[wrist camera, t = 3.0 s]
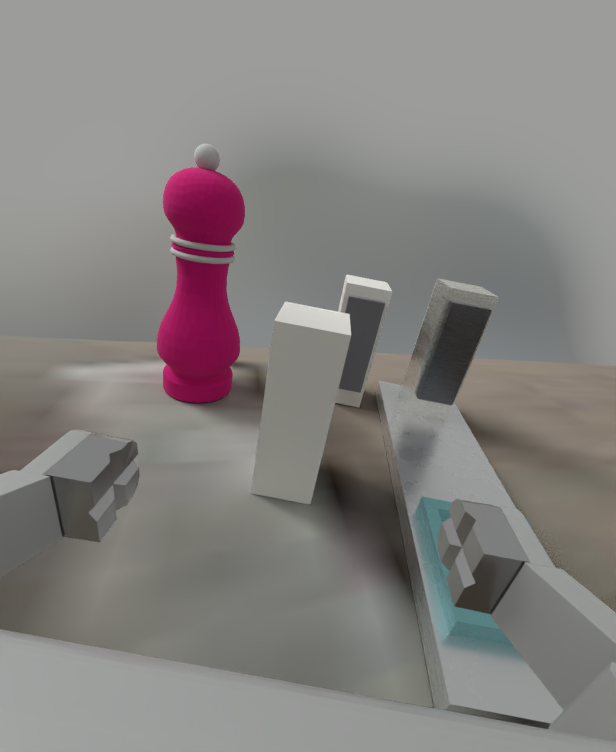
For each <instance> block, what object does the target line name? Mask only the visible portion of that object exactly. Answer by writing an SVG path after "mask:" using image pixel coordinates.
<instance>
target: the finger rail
mask: <svg viewBox="0 0 616 752" xmlns="http://www.w3.org/2000/svg"><path fill="white" fill-rule="evenodd" d="M498 298H499V297H498V296H496V295H494V294H493V293H491V292H489V291H487V290H486V289H484V288H482V287H479V286H473V285H469V284H463V283H458V282H453V281H448V280H443V279H437V281H436V284H435V287H434V290H433V293H432V296H431V299H430V302H429V305H428V308H427V311H426V314H425V317H424V320H423V323H422V326H421V329H420V332H419V335H418V338H417V341H416V344H415V347H414V350H413V353H412V356H411V359H410V362H409V365H408V368H407V371H406V374H405V377H404V380H403V383H402V385H398V384H393V383H388V382H383V381H378V385H377V388H376V391H375V394H376V399H377V405H378V410H379V415H380V421H381V426H382V431H383V437H384V442H385V447H386V453H387V458H388V463H389V469H390V474H391V479H392V485H393V490H394V495H395V501H396V506H397V511H398V517H399V522H400V527H401V532H402V538H403V543H404V548H405V554H406V559H407V564H408V570H409V575H410V580H411V586H412V591H413V596H414V602H415V607H416V612H417V618H418V623H419V628H420V634H421V639H422V644H423V650H424V655H425V660H426V665H427V671H428V676H429V681H430V687H431V692H432V697H433V703H434V708H435V709H440V710H445V711H451V712H456V713H462V714H467V715H473V716H478V717H484V718H489V719H494V720H500V721H505V722H511V723H516V724H522V725H527V726H533V727H538V728H544V729H548V728H549V726H550V724H551V723H552V722H553V721H554V720H555V719H556V718H557V717H558V716H559V715H560V714H561V713H562V712H563V711H564V710H563V709H562V708H561V706H560V705H559V704H558V703H557V701H556V700H555V699H554V697H553V696H552V695H551V694H550V692H549V691H548V690H547V688H546V687H545V686H544V685H543V683H542V682H541V681H540V679H539V678H538V677H537V676H536V674H535V673H534V672H533V670H532V669H531V668H530V666H529V665H528V664H527V663H526V661H525V660H524V659H523V657H522V656H521V655H520V654H519V652H518V651H517V650H516V648H515V647H514V646H513V645H512V643H511V642H510V641H509V639H508V638H507V637H506V636H505V634H504V633H503V632H502V630H501V629H500V628H499V627H498V625H497V624H496V623H495V621H494V620H493V619H492V618H491V614H487V613H482V612H477V611H473V610H468V609H463V608H459V607H454V604H453V601H452V597H451V594H450V591H449V587H448V584H447V581H446V578H447V576H448V574H449V572H450V571H449V570H448V569H447V568H446V567H445V566H444V564H443V563H442V562H441V560H440V556H439V553H438V544H437V543H438V533H439V530H440V527H441V525H442V523H443V522H444V521H446V520H448V519H449V518H451V516H450V513H449V511H448V509H449V507H450V505H451V503H452V502H453V501H454V500H455V499H460V500H466V501H472V502H478V503H483V504H489V505H494V506H496V505H497V506H504V507H510V508H516V507H515V506H514V504H513V502H512V500H511V499H510V497H509V495H508V494H507V492H506V490H505V488H504V487H503V485H502V483H501V482H500V480H499V478H498V476H497V475H496V473H495V471H494V470H493V468H492V466H491V464H490V463H489V461H488V459H487V458H486V456H485V454H484V452H483V451H482V449H481V447H480V446H479V444H478V442H477V440H476V439H475V437H474V435H473V434H472V432H471V430H470V428H469V427H468V425H467V423H466V422H465V420H464V418H463V416H462V415H461V413H460V411H459V410H458V408H457V406H456V404H455V400H456V398H457V396H458V393H459V391H460V389H461V386H462V384H463V381H464V379H465V377H466V374H467V372H468V370H469V367H470V365H471V363H472V360H473V358H474V355H475V353H476V351H477V348H478V346H479V344H480V341H481V339H482V336H483V334H484V332H485V329H486V327H487V325H488V322H489V319H490V317H491V315H492V313H493V310H494V308H495V305H496V303H497V300H498ZM524 517H525V516H524ZM525 519H526V518H525ZM526 520H527V519H526ZM527 522H528V521H527ZM528 524H529V523H528ZM529 525H530V524H529ZM530 527H531V526H530ZM531 529H532V528H531ZM533 532H534V531H533ZM536 537H537V536H536ZM539 542H540V541H539ZM542 547H543V546H542Z"/></svg>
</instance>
